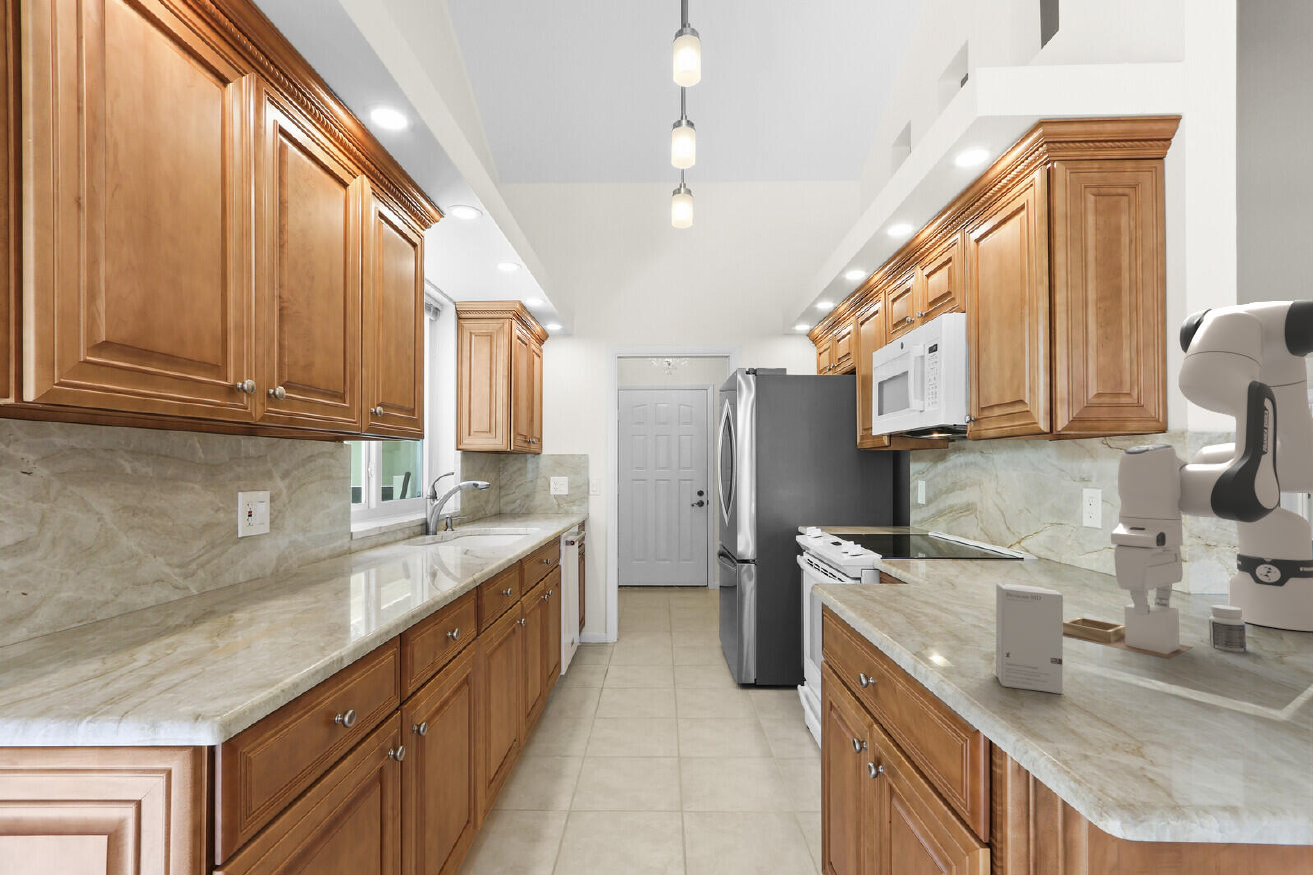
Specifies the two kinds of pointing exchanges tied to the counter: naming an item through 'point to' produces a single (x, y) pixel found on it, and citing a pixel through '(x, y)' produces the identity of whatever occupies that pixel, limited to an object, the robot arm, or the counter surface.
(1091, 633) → the board
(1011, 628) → the skincare box
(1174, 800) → the counter surface
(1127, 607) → the block
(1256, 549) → the robot arm
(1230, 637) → the pill bottle
